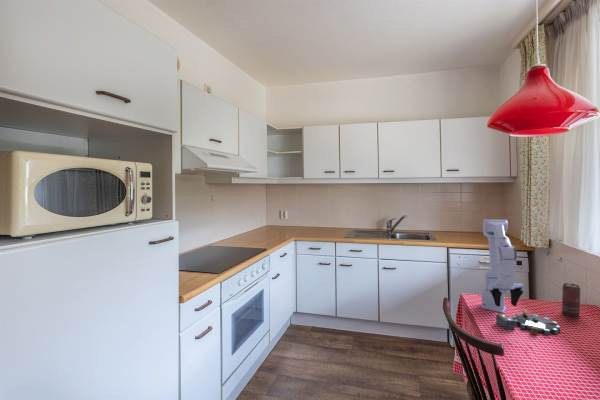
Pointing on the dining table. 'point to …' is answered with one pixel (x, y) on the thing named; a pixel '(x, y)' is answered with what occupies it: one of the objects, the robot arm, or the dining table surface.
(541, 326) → the sprocket
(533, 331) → the brown rectangular block
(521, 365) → the dining table surface
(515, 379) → the dining table surface
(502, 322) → the gray speaker cabinet
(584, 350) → the dining table surface
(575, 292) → the can
